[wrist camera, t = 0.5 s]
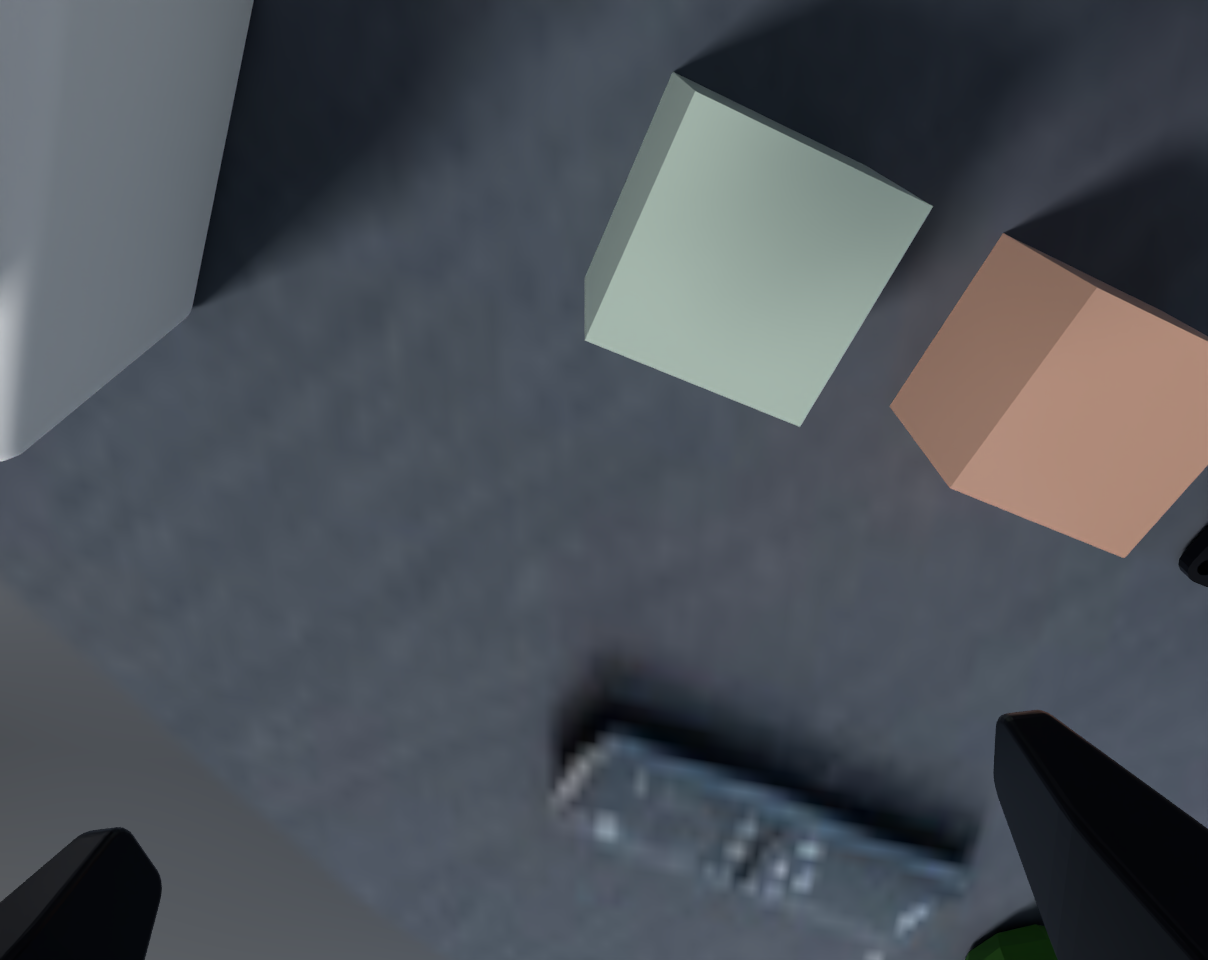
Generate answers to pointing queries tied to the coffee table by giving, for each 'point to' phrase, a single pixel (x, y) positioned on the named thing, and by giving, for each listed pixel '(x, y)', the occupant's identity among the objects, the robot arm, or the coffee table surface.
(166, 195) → the medicine bottle
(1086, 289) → the salmon pink cube
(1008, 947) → the bell pepper
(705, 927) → the coffee table surface
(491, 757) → the coffee table surface
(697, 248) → the pale green cube
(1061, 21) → the coffee table surface
